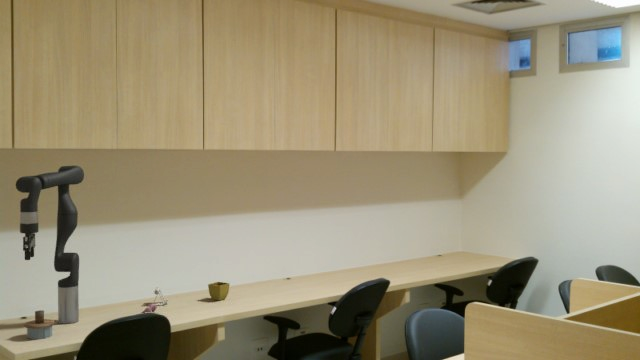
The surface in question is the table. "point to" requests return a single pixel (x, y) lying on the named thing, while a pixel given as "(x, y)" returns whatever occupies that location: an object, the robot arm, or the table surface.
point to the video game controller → (150, 308)
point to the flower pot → (218, 290)
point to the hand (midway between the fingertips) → (29, 258)
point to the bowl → (39, 333)
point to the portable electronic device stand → (160, 295)
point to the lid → (39, 321)
